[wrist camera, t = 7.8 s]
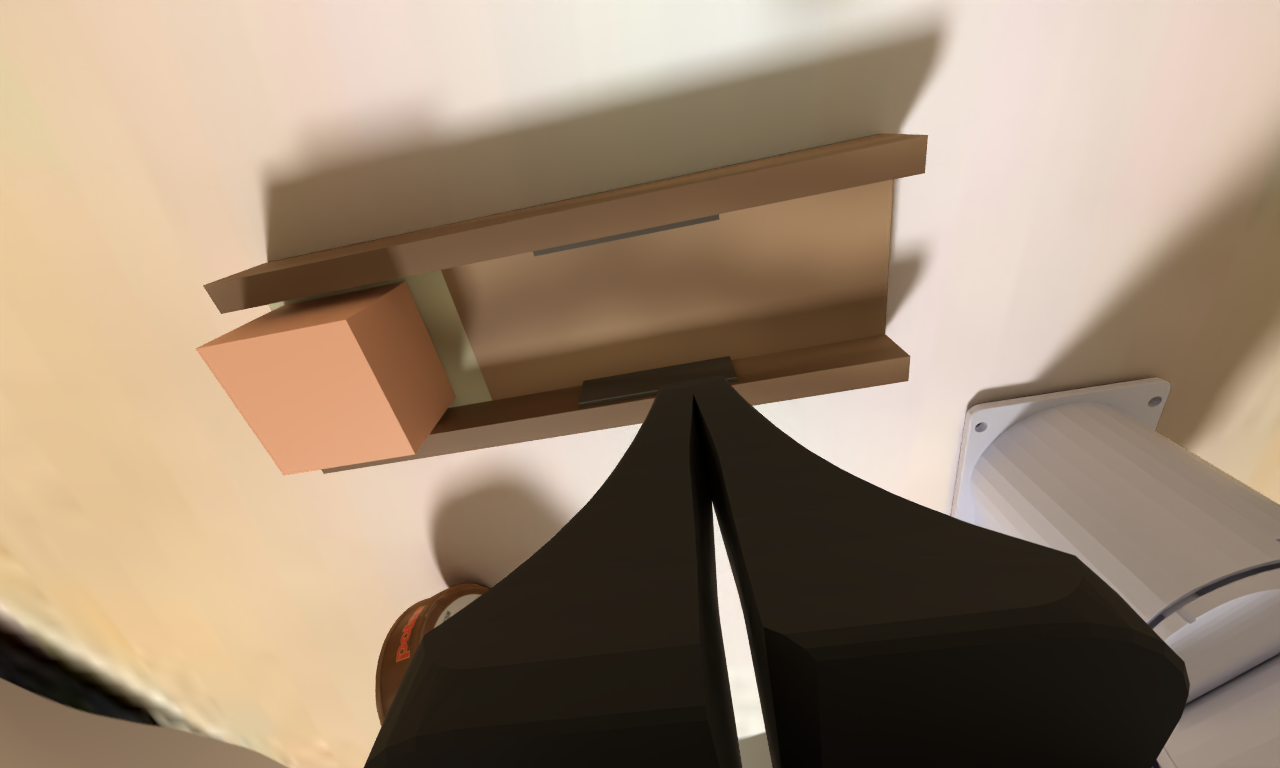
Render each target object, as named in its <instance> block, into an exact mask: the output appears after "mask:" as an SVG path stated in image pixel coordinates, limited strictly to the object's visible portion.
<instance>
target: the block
mask: <svg viewBox="0 0 1280 768" xmlns="http://www.w3.org/2000/svg"><path fill="white" fill-rule="evenodd" d="M196 350H197V351H198V353H199V354H200V356H201V357H202V359H203V360H204V361H205V363H206V364H207V366H208V367H209V369H210V370H211V372H212V373H213V374H214V376H215V377H216V379H217V380H218V382H219V383H220V384H221V386H222V387H223V389H224V390H225V392H226V393H227V395H228V396H229V397H230V399H231V400H232V402H233V403H234V405H235V406H236V408H237V409H238V410H239V412H240V413H241V415H242V416H243V418H244V419H245V420H246V422H247V423H248V425H249V426H250V428H251V429H252V431H253V432H254V433H255V435H256V436H257V438H258V439H259V441H260V442H261V444H262V445H263V446H264V448H265V449H266V451H267V452H268V454H269V455H270V456H271V458H272V459H273V461H274V462H275V464H276V465H277V467H278V468H279V469H280V471H281V472H282V474H283V475H289V474H295V473H302V472H308V471H314V470H321V469H327V468H333V467H339V466H346V465H352V464H358V463H364V462H371V461H377V460H383V459H389V458H396V457H402V456H408V455H414V454H416V453H417V451H418V450H419V448H420V447H421V445H422V444H423V443H424V441H425V440H426V438H427V437H428V435H429V434H430V433H431V431H432V430H433V428H434V427H435V426H436V424H437V423H438V421H439V420H440V418H441V417H442V416H443V414H444V413H445V411H446V410H447V408H448V407H449V406H450V404H451V403H452V401H453V400H454V398H455V397H456V396H455V393H454V391H453V389H452V386H451V384H450V382H449V380H448V377H447V375H446V373H445V370H444V368H443V366H442V363H441V361H440V359H439V357H438V354H437V352H436V350H435V347H434V345H433V343H432V341H431V338H430V336H429V334H428V331H427V329H426V327H425V324H424V322H423V320H422V318H421V315H420V313H419V311H418V308H417V306H416V304H415V301H414V299H413V297H412V295H411V292H410V290H409V288H408V285H407V283H406V281H404V282H399V283H394V284H389V285H384V286H379V287H374V288H369V289H364V290H359V291H354V292H349V293H344V294H339V295H334V296H329V297H324V298H318V299H313V300H308V301H303V302H298V303H293V304H288V305H283V306H281V307H279V308H277V309H275V310H273V311H271V312H269V313H267V314H265V315H263V316H261V317H259V318H257V319H255V320H253V321H251V322H249V323H247V324H245V325H243V326H241V327H239V328H237V329H235V330H233V331H231V332H229V333H227V334H224V335H222V336H220V337H218V338H216V339H214V340H212V341H210V342H208V343H206V344H204V345H202V346H200V347H198V348H196Z"/></svg>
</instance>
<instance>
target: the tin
mask: <svg viewBox="0 0 1280 768" xmlns="http://www.w3.org/2000/svg"><path fill="white" fill-rule="evenodd" d="M488 590H490V589H489V588H487V587H484V586H481V585H478V584H461V585H457V586H453V587H451V588H448V589H446V590H444V591H442V592H440V593H438V594H436V595H434V596H433V597H431V598H428V599H425V600H422V601H420V602H418V603H416V604H414V605H413V606H411V607H410V608H408V609H407V610H406V611H405V612H404V613H403V614H402V615H401V616H400V617H399V618H398V619H397V620H396V622H395V623H394V625H393V626H392V628H391V629H390V631H389V633H388V634H387V637H386V639H385V641H384V643H383V646H382V649H381V652H380V656H379V659H378V665H377V671H376V689H375V691H376V707H377V712H378V715H379V719H380V724H381V726H382V725H383V722H384V720H385V718H386V715H387V713H388V711H389V708H390V706H391V704H392V702H393V699H394V697H395V695H396V692H397V690H398V688H399V685H400V683H401V681H402V678H403V676H404V674H405V672H406V670H407V668H408V666H409V664H410V662H411V660H412V658H413V656H414V654H415V652H416V650H417V648H418V646H419V644H420V642H421V640H422V638H423V636H424V635H425V634H426V633H428V632H429V631H431V630H432V629H434V628H435V627H437V626H438V625H440V624H441V623H443V622H444V621H446V620H447V619H448V618H450V617H451V616H453V615H454V614H456V613H457V612H458V611H460V610H461V609H463V608H464V607H466V606H467V605H468V604H470V603H471V602H473V601H474V600H475V599H477V598H478V597H480V596H481V595H483V594H484V593H485V592H487V591H488Z"/></svg>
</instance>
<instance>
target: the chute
mask: <svg viewBox="0 0 1280 768" xmlns="http://www.w3.org/2000/svg"><path fill="white" fill-rule="evenodd" d="M927 139H928V135H908V134H878V135H873V136H868V137H863V138H859V139H854V140H849V141H844V142H839V143H835V144H830V145H825V146H820V147H816V148H811V149H806V150H801V151H797V152H792V153H787V154H782V155H778V156H773V157H768V158H763V159H758V160H754V161H749V162H744V163H739V164H735V165H730V166H725V167H720V168H716V169H711V170H706V171H701V172H696V173H692V174H687V175H682V176H677V177H673V178H668V179H663V180H658V181H654V182H649V183H644V184H639V185H635V186H630V187H625V188H620V189H615V190H611V191H606V192H601V193H596V194H592V195H587V196H582V197H577V198H573V199H568V200H563V201H558V202H554V203H549V204H544V205H539V206H534V207H530V208H525V209H520V210H515V211H511V212H506V213H501V214H496V215H492V216H487V217H482V218H477V219H473V220H468V221H463V222H458V223H453V224H449V225H444V226H439V227H434V228H430V229H425V230H420V231H415V232H411V233H406V234H401V235H396V236H392V237H387V238H382V239H377V240H372V241H368V242H363V243H358V244H353V245H349V246H344V247H339V248H334V249H330V250H325V251H320V252H315V253H311V254H306V255H301V256H296V257H291V258H287V259H282V260H277V261H272V262H268V263H264V264H262V265H259V266H256V267H253V268H251V269H248V270H245V271H242V272H239V273H237V274H234V275H231V276H228V277H226V278H223V279H220V280H217V281H214V282H212V283H209V284H206V285H203V286H204V288H205V289H206V291H207V292H208V294H209V296H210V297H211V299H212V300H213V302H214V303H215V305H216V306H217V308H218V310H219V311H220V313H221V314H223V313H228V312H233V311H238V310H243V309H248V308H253V307H258V306H263V305H269V307H270V309H271V310H272V311H273V310H275V309H277V308H279V307H281V306H283V305H288V304H293V303H298V302H303V301H308V300H313V299H318V298H324V297H329V296H334V295H339V294H344V293H349V292H354V291H359V290H364V289H369V288H374V287H379V286H384V285H389V284H394V283H399V282H404V281H406V283H407V285H408V288H409V290H410V292H411V295H412V297H413V299H414V301H415V304H416V306H417V308H418V311H419V313H420V315H421V318H422V320H423V322H424V324H425V327H426V329H427V331H428V334H429V336H430V338H431V341H432V343H433V345H434V347H435V350H436V352H437V354H438V357H439V359H440V361H441V363H442V366H443V368H444V370H445V373H446V375H447V377H448V380H449V382H450V384H451V386H452V389H453V391H454V393H455V396H456V397H455V398H454V400H453V401H452V403H451V404H450V406H449V407H448V408H447V410H446V411H445V413H444V414H443V416H442V417H441V418H440V420H439V421H438V423H437V424H436V426H435V427H434V428H433V430H432V431H431V433H430V434H429V435H428V437H427V438H426V440H425V441H424V443H423V444H422V445H421V447H420V448H419V450H418V451H417V453H416V454H414V455H408V456H402V457H396V458H389V459H383V460H377V461H371V462H364V463H358V464H352V465H346V466H339V467H333V468H327V469H321V470H322V471H323V473H324V474H325V473H331V472H338V471H344V470H350V469H356V468H363V467H369V466H375V465H382V464H388V463H394V462H401V461H407V460H413V459H419V458H426V457H432V456H438V455H445V454H451V453H457V452H464V451H470V450H476V449H482V448H489V447H495V446H501V445H508V444H514V443H520V442H527V441H533V440H539V439H545V438H552V437H558V436H564V435H571V434H577V433H583V432H590V431H596V430H602V429H608V428H615V427H621V426H627V425H634V424H640V423H643V422H644V421H645V419H646V417H647V415H648V413H649V411H650V409H651V406H652V404H653V402H654V400H655V397H656V395H657V392H658V390H659V389H660V388H661V386H662V385H667V384H673V383H679V382H685V381H691V380H696V379H702V378H708V377H714V376H720V375H721V376H722V377H724V378H725V379H726V380H727V381H728V382H729V383H730V384H731V385H732V387H733V388H734V389H735V390H736V391H737V392H738V393H739V394H740V395H741V396H742V397H743V398H744V399H745V400H746V401H747V402H748V403H749V404H750V405H751V406H753V405H760V404H766V403H772V402H779V401H785V400H791V399H797V398H804V397H810V396H816V395H823V394H829V393H835V392H842V391H848V390H854V389H861V388H867V387H873V386H879V385H886V384H892V383H898V382H905V381H908V378H909V365H910V356H909V355H908V354H907V353H906V352H905V351H904V350H903V349H901V348H900V347H899V346H898V345H897V344H896V343H895V342H893V341H892V340H891V339H890V338H889V337H888V336H886V335H885V326H886V306H887V286H888V267H889V247H890V227H891V208H892V188H893V179H897V178H902V177H907V176H912V175H917V174H922V173H925V164H926V152H927Z"/></svg>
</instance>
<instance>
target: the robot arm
mask: <svg viewBox="0 0 1280 768" xmlns="http://www.w3.org/2000/svg"><path fill="white" fill-rule="evenodd" d="M1170 390H1171V384H1170V382H1168V381H1166V380H1164V379H1161V378H1159V377H1154V378H1147V379H1141V380H1134V381H1128V382H1121V383H1114V384H1108V385H1101V386H1095V387H1088V388H1081V389H1075V390H1068V391H1062V392H1055V393H1048V394H1042V395H1035V396H1029V397H1022V398H1016V399H1009V400H1002V401H996V402H989V403H983V404H978V405H975V406H973V407H971V408H970V409H969V410H968V411H967V414H966V418H965V425H964V432H963V438H962V445H961V452H960V458H959V465H958V472H957V478H956V485H955V492H954V498H953V505H952V512H951V516H949V515H946V514H943V513H940V512H938V511H935V510H932V509H930V508H927V507H924V506H922V505H919V504H917V503H914V502H912V501H909V500H907V499H904V498H902V497H900V496H897V495H895V494H892V493H890V492H888V491H886V490H884V489H882V488H879V487H877V486H875V485H873V484H871V483H869V482H867V481H864V480H862V479H860V478H858V477H856V476H854V475H852V474H850V473H848V472H846V471H844V470H842V469H840V468H839V467H837V466H835V465H833V464H832V463H830V462H828V461H826V460H825V459H823V458H821V457H820V456H818V455H816V454H814V453H813V452H811V451H809V450H808V449H806V448H805V447H803V446H802V445H801V444H799V443H798V442H796V441H795V440H794V439H792V438H791V437H789V436H788V435H787V434H785V433H784V432H783V431H781V430H780V429H779V428H777V427H776V426H775V425H774V424H772V423H771V422H770V421H769V420H768V419H766V418H765V417H764V416H763V415H762V414H761V413H759V412H758V411H757V410H756V409H755V408H754V407H753V406H751V405H750V404H749V403H748V402H747V401H746V400H745V399H744V398H743V397H742V396H741V395H740V394H739V393H738V392H737V391H736V390H735V389H734V388H733V387H732V385H731V384H730V383H729V382H728V381H727V380H726V379H725V378H724V377H722V376H721V375H720V376H714V377H708V378H702V379H696V380H691V381H685V382H679V383H673V384H667V385H662V386H661V388H660V389H659V390H658V392H657V395H656V397H655V400H654V402H653V404H652V406H651V409H650V411H649V413H648V415H647V417H646V419H645V421H644V422H643V424H642V426H641V428H640V430H639V431H638V433H637V435H636V437H635V438H634V440H633V442H632V443H631V445H630V447H629V448H628V450H627V451H626V453H625V454H624V456H623V457H622V459H621V460H620V462H619V463H618V465H617V466H616V468H615V469H614V471H613V472H612V473H611V475H610V476H609V477H608V479H607V480H606V481H605V482H604V484H603V485H602V486H601V488H600V489H599V490H598V491H597V492H596V494H595V495H594V496H593V497H592V498H591V500H590V501H589V502H588V503H587V504H586V505H585V506H584V507H583V508H582V509H581V510H580V511H579V512H578V513H577V514H576V515H575V516H574V517H573V518H572V519H571V520H570V521H569V522H568V523H567V524H566V525H565V526H564V527H563V528H562V529H561V530H560V531H559V532H558V533H557V534H556V535H555V536H554V537H553V538H552V539H551V540H550V541H549V542H547V543H546V544H545V545H544V546H543V547H542V548H541V549H539V550H538V551H537V552H536V553H535V554H534V555H533V556H531V557H530V558H529V559H528V560H527V561H525V562H524V563H523V564H522V565H520V566H519V567H518V568H517V569H515V570H514V571H513V572H512V573H510V574H509V575H508V576H507V577H506V578H504V579H503V580H502V581H500V582H499V583H498V584H496V585H495V586H494V587H492V588H491V589H490V590H488V591H487V592H485V593H484V594H483V595H481V596H480V597H478V598H477V599H475V600H474V601H473V602H471V603H470V604H468V605H467V606H466V607H464V608H463V609H461V610H460V611H458V612H457V613H456V614H454V615H453V616H451V617H450V618H448V619H447V620H446V621H444V622H443V623H441V624H440V625H438V626H437V627H435V628H434V629H432V630H431V631H429V632H428V633H426V634H425V635H424V636H423V638H422V640H421V642H420V644H419V646H418V648H417V650H416V652H415V654H414V656H413V658H412V660H411V662H410V664H409V666H408V668H407V670H406V672H405V674H404V676H403V678H402V681H401V683H400V685H399V688H398V690H397V692H396V695H395V697H394V699H393V702H392V704H391V706H390V708H389V711H388V713H387V715H386V718H385V720H384V722H383V725H382V727H381V729H380V732H379V734H378V736H377V738H376V741H375V743H374V745H373V748H372V750H371V752H370V755H369V757H368V759H367V761H366V764H365V766H364V768H742V763H741V756H740V750H739V744H738V737H737V730H736V724H735V717H734V711H733V704H732V698H731V691H730V684H729V678H728V671H727V665H726V658H725V651H724V645H723V638H722V631H721V625H720V617H719V607H718V597H717V579H716V562H715V545H714V527H713V511H712V502H713V506H714V509H715V513H716V516H717V520H718V524H719V527H720V531H721V534H722V538H723V541H724V545H725V548H726V552H727V555H728V559H729V562H730V566H731V569H732V573H733V576H734V580H735V583H736V587H737V590H738V594H739V598H740V602H741V606H742V610H743V614H744V619H745V624H746V629H747V634H748V640H749V645H750V650H751V655H752V661H753V666H754V671H755V677H756V682H757V687H758V693H759V698H760V703H761V708H762V714H763V719H764V724H765V730H766V735H767V740H768V746H769V751H770V756H771V762H772V767H773V768H1280V505H1279V504H1277V503H1276V502H1274V501H1272V500H1271V499H1269V498H1267V497H1265V496H1264V495H1262V494H1260V493H1259V492H1257V491H1255V490H1254V489H1252V488H1250V487H1249V486H1247V485H1245V484H1244V483H1242V482H1240V481H1239V480H1237V479H1235V478H1234V477H1232V476H1230V475H1229V474H1227V473H1225V472H1224V471H1222V470H1220V469H1219V468H1217V467H1215V466H1214V465H1212V464H1210V463H1209V462H1207V461H1205V460H1204V459H1202V458H1200V457H1199V456H1197V455H1195V454H1194V453H1192V452H1190V451H1189V450H1187V449H1185V448H1183V447H1182V446H1180V445H1178V444H1177V443H1175V442H1173V441H1172V440H1170V439H1168V438H1167V437H1165V436H1163V435H1162V434H1160V433H1158V432H1157V431H1155V429H1156V427H1157V424H1158V422H1159V419H1160V416H1161V414H1162V411H1163V408H1164V406H1165V403H1166V400H1167V398H1168V395H1169V392H1170ZM979 423H981V424H980V425H979V426H977V427H976V425H977V424H979Z"/></svg>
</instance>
